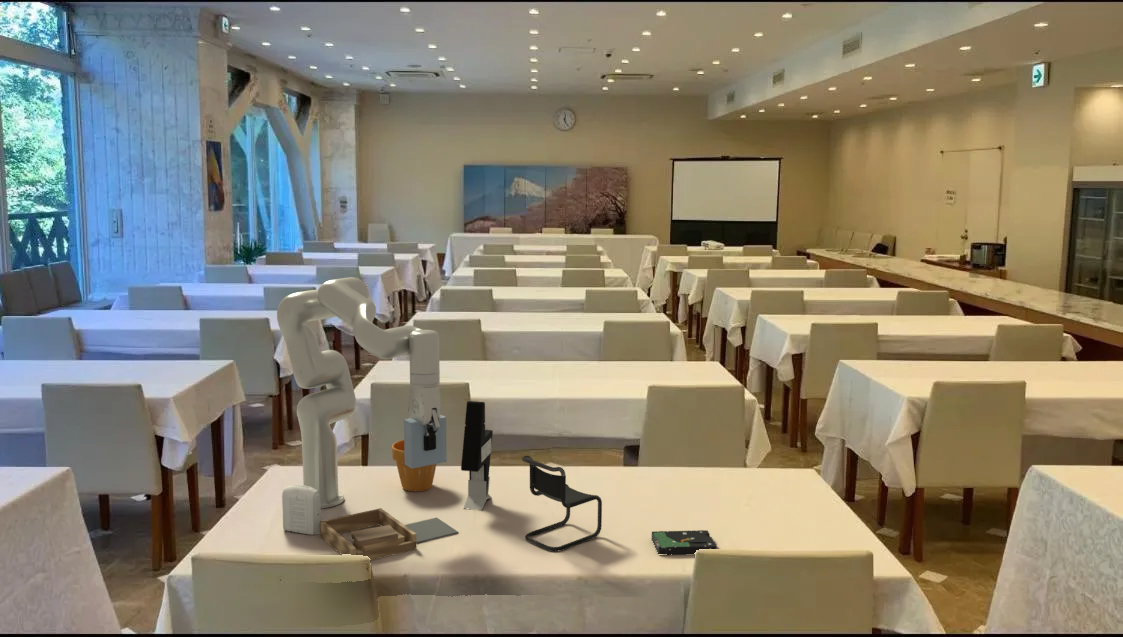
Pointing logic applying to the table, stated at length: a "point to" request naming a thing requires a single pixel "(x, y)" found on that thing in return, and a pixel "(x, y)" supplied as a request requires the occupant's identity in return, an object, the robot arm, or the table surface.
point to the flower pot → (412, 471)
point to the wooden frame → (363, 520)
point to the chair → (558, 499)
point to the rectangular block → (415, 444)
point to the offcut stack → (375, 538)
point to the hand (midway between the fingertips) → (425, 446)
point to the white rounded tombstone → (301, 509)
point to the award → (476, 455)
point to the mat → (430, 529)
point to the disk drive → (682, 541)
